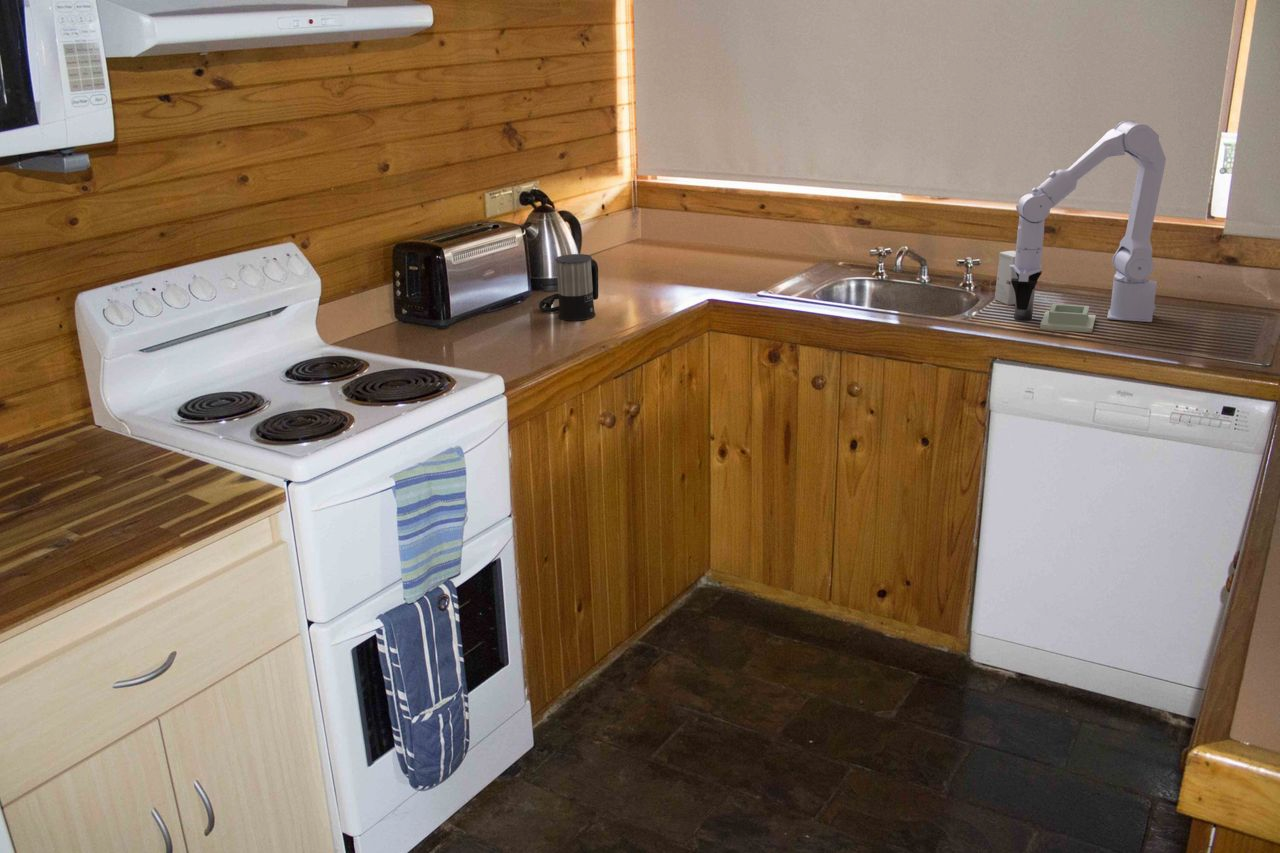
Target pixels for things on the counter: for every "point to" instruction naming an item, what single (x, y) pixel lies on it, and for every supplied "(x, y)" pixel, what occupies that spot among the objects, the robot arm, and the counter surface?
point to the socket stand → (1068, 318)
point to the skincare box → (1005, 278)
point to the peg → (1025, 314)
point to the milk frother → (574, 288)
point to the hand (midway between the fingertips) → (1023, 305)
